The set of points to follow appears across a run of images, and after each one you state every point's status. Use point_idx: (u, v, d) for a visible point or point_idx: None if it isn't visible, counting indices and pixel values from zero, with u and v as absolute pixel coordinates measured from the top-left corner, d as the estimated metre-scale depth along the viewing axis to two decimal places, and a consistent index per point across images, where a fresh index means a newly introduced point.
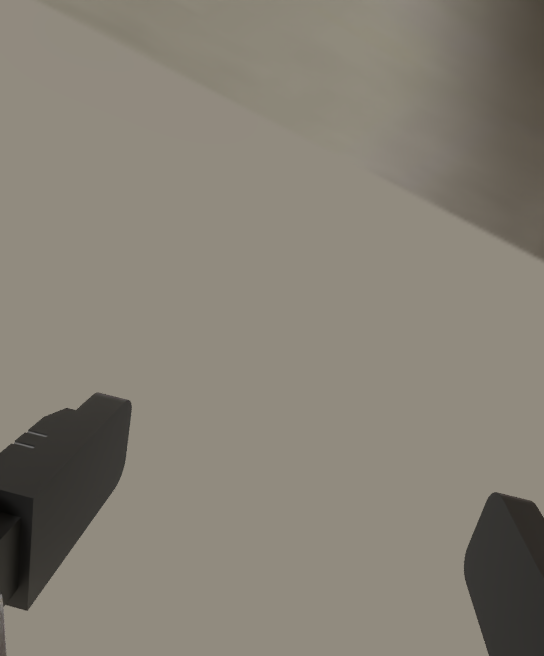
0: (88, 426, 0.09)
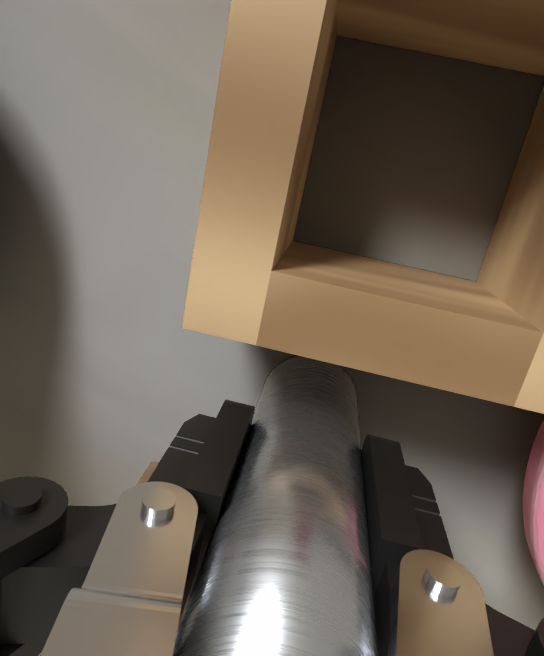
0: (234, 431, 0.10)
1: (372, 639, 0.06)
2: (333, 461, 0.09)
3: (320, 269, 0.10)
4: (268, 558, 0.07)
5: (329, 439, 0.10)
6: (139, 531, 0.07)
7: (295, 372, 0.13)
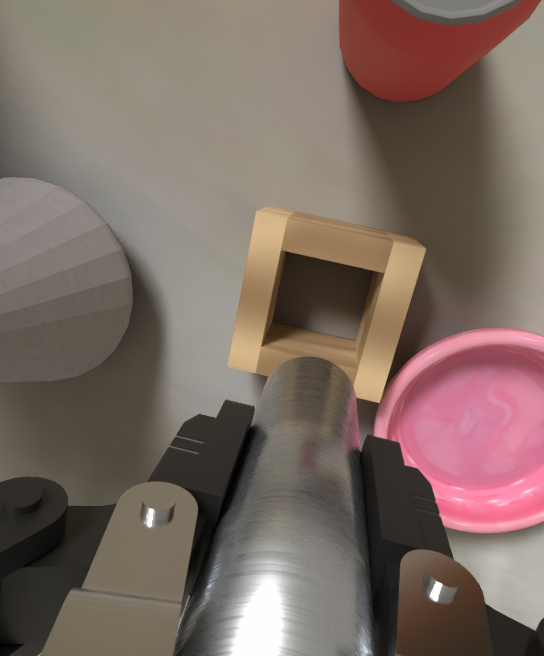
0: (234, 431, 0.10)
1: (371, 641, 0.06)
2: (333, 463, 0.09)
3: (280, 342, 0.26)
4: (267, 559, 0.07)
5: (328, 441, 0.10)
6: (139, 531, 0.07)
7: (295, 373, 0.13)
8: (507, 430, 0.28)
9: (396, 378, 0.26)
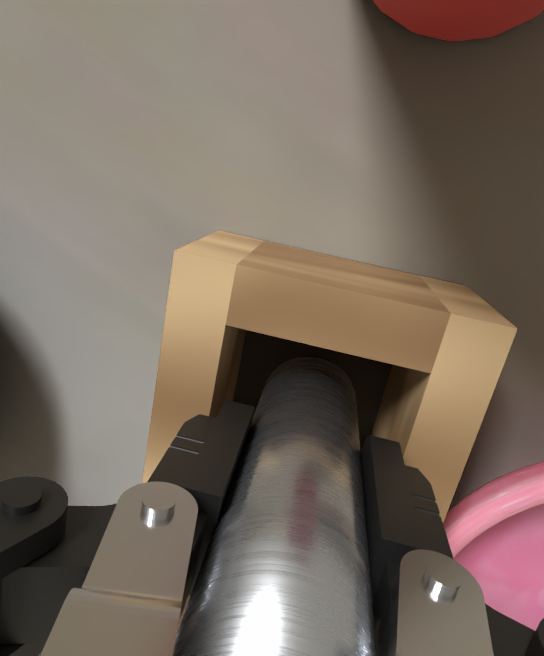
0: (234, 431, 0.10)
1: (371, 641, 0.06)
2: (332, 463, 0.09)
3: None
4: (267, 560, 0.07)
5: (328, 441, 0.10)
6: (139, 531, 0.07)
7: (295, 373, 0.13)
8: None
9: None
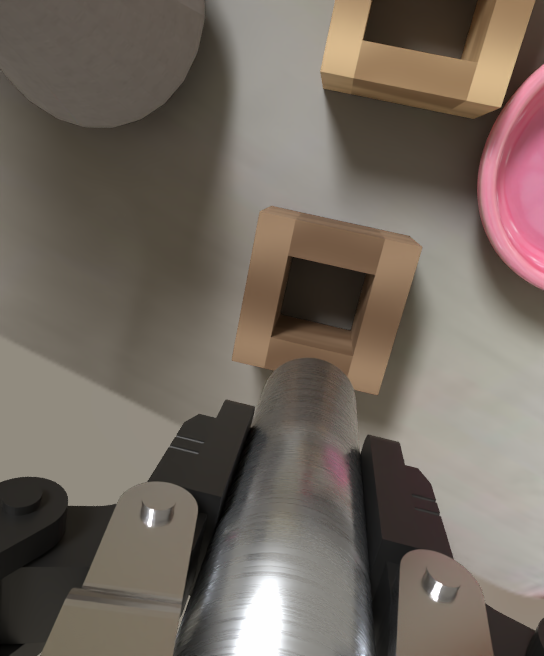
0: (234, 431, 0.10)
1: (371, 643, 0.06)
2: (332, 464, 0.09)
3: None
4: (267, 561, 0.07)
5: (327, 442, 0.10)
6: (139, 531, 0.07)
7: (295, 374, 0.13)
8: None
9: (512, 98, 0.23)
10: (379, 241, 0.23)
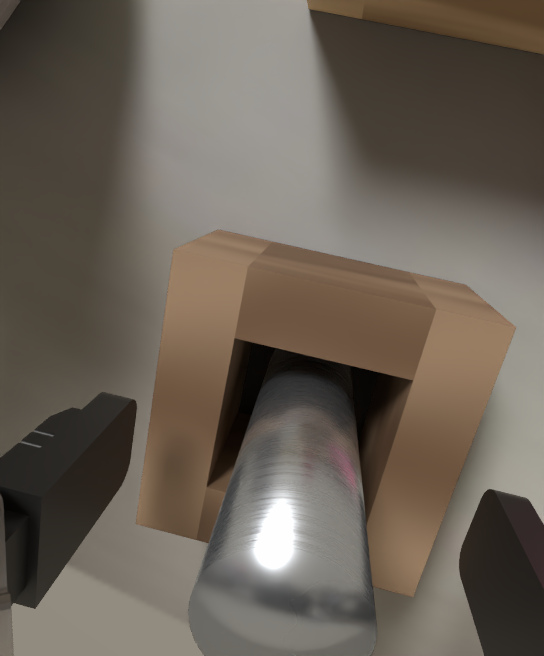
0: (94, 426, 0.09)
1: (363, 524, 0.09)
2: (332, 409, 0.11)
3: None
4: (284, 466, 0.09)
5: (328, 394, 0.12)
6: None
7: None
8: None
9: None
10: (424, 314, 0.11)
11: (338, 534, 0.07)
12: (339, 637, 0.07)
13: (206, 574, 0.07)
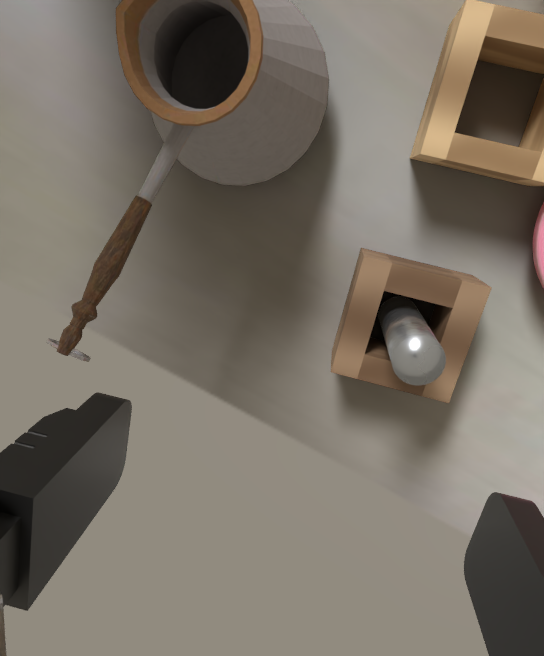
0: (88, 426, 0.09)
1: None
2: (421, 317, 0.30)
3: None
4: (413, 325, 0.28)
5: (417, 313, 0.31)
6: None
7: (397, 300, 0.34)
8: None
9: None
10: (457, 282, 0.30)
11: (434, 338, 0.26)
12: (435, 364, 0.26)
13: (399, 345, 0.26)
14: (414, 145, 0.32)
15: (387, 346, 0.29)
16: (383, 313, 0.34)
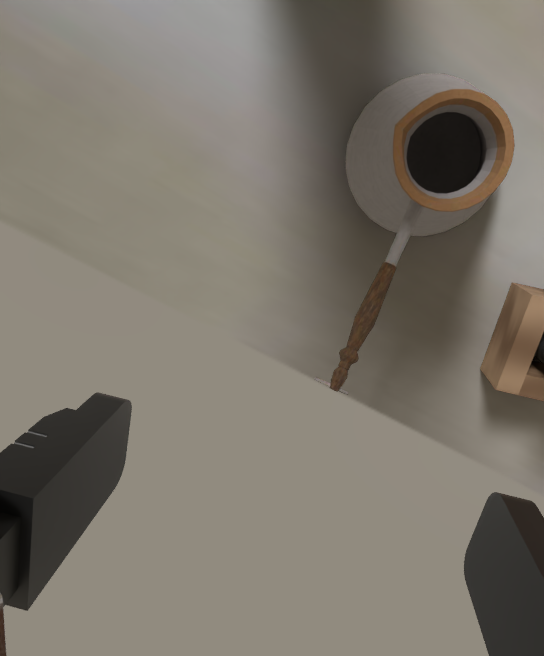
0: (88, 426, 0.09)
1: None
2: None
3: None
4: None
5: None
6: None
7: None
8: None
9: None
10: None
11: None
12: None
13: None
14: None
15: None
16: None
